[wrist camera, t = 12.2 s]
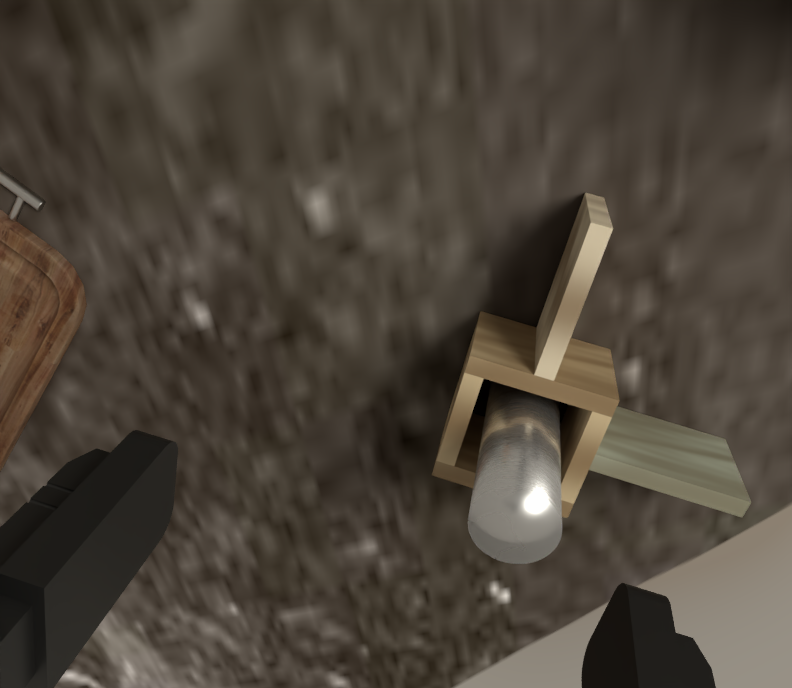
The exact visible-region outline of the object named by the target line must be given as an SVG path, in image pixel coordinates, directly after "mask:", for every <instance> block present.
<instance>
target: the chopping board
mask: <svg viewBox="0 0 792 688" xmlns="http://www.w3.org/2000/svg"><path fill="white" fill-rule="evenodd" d="M0 184H1V185H3V186H4V187H6V188H7V189H8V190H10V191H11V192H12V193H14V194H15V195H16V196H17V198H16V200H15V203H14V205H13V207H12V209H11V212H10V214H9V216H8V215H7V214H6V213H4V212H3V211H2V210H0V472H1V470H2V468H3V466H4V464H5V462H6V461H7V459H8V457H9V455H10V453H11V451H12V449H13V448H14V446H15V444H16V442H17V440H18V438H19V437H20V435H21V433H22V431H23V429H24V427H25V425H26V424H27V422H28V420H29V418H30V416H31V414H32V413H33V411H34V409H35V407H36V405H37V403H38V402H39V400H40V398H41V396H42V394H43V392H44V390H45V389H46V387H47V385H48V383H49V381H50V379H51V378H52V376H53V374H54V372H55V370H56V368H57V366H58V365H59V363H60V361H61V359H62V357H63V355H64V354H65V352H66V350H67V348H68V346H69V344H70V343H71V341H72V339H73V337H74V335H75V333H76V331H77V330H78V328H79V326H80V324H81V322H82V320H83V316H84V312H85V308H86V298H85V292H84V286H83V284H82V282H81V280H80V278H79V276H78V274H77V273H76V271H75V269H74V267H73V266H72V265H71V264H70V263H69V262H68V261H67V260H66V259H65V258H64V257H63V256H62V255H61V254H60V253H59V252H58V251H57V250H55V249H54V248H53V247H51V246H50V245H48V244H47V243H46V242H44V241H43V240H42V239H40V238H39V237H37V236H36V235H35V234H33V233H32V232H30V231H29V230H28V229H26V228H25V227H24V226H22V225H21V224H19V223H18V222H17V219H18V217H19V215H20V212H21V210H22V208H23V206H24V203H25V202H26V203H27V204H29V205H30V206H32V207H33V208H34V209H36V210H37V211H41V210H42V209H43V207H44V205H45V203H46V202H45V200H44V199H42V198H41V197H40V196H38V195H37V194H36V193H34V192H33V191H31V190H30V189H29V188H27V187H26V186H25V185H23V184H22V183H21V182H19V181H18V180H16V179H15V178H14V177H12V176H11V175H10V174H8V173H7V172H5V171H4V170H3V169H1V168H0Z"/></svg>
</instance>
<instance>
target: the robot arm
mask: <svg viewBox="0 0 792 688" xmlns="http://www.w3.org/2000/svg"><path fill="white" fill-rule="evenodd" d="M177 456H178V446H177V444H176V442H173V441H170V440H167V439H164V438H161V437H157V436H154V435H151V434H148V433H145V432H141V431H138V430H135V431H132V432H131V433H130V434H129V435H127V436H126V438H125V439H124V440H123V441H122V442H121V443H120V444H119V445H118V446H117V447H116V448H115V449H114V450H113V451H112V452H111V453H109V452H106V451H103V450H100V449H95V450H93V451H91V452H88V453H86V454H84V455H82V456H80V457H78V458H76V459H74V460H72V461H70V462H68V463H67V464H66V465H65V466H64V467H63V468H62V469H60V470H59V471H58V472H57V473H56V474H55V475H54V476H53V477H52V478H51V479H50V480H49V481H48V482H47V485H46V486H43V487H42V488H41V489H40V490H39V491H38V492H37V493H36V494H35V495H34V496H33V497H31V500H30V502H29V503H27V502H26V503H25V504H24V505H23V506H22V507H21V508H20V509H19V510H18V511H17V512H16V513H15V514H14V515H13V516H12V517H11V518H10V519H9V520H8V521H7V522H6V523H5V524H3V525H2V526H1V527H0V688H54V686H55V685H56V684H57V682H58V681H59V679H60V678H61V677H62V675H63V674H64V673H65V671H66V670H67V668H68V667H69V666H70V664H71V663H72V661H73V660H74V659H75V657H76V656H77V655H78V653H79V652H80V650H81V649H82V648H83V646H84V645H85V644H86V642H87V641H88V639H89V638H90V637H91V635H92V634H93V632H94V631H95V630H96V628H97V627H98V626H99V624H100V623H101V621H102V620H103V619H104V617H105V616H106V614H107V613H108V612H109V610H110V609H111V608H112V606H113V605H114V603H115V602H116V601H117V599H118V598H119V597H120V595H121V594H122V592H123V591H124V590H125V588H126V587H127V585H128V584H129V583H130V581H131V580H132V579H133V577H134V576H135V574H136V573H137V572H138V570H139V569H140V567H141V566H142V565H143V563H144V562H145V561H146V559H147V558H148V556H149V555H150V554H151V552H152V551H153V550H154V548H155V547H156V545H157V544H158V543H159V541H160V540H161V538H162V536H163V535H164V533H165V531H166V528H167V526H168V524H169V521H170V518H171V515H172V510H173V504H174V492H175V480H176V468H177ZM582 688H716V687H715V682H714V678H713V673H712V669H711V667H710V665H709V664H708V662H707V660H706V659H705V657H704V655H703V654H702V652H701V651H700V649H699V647H698V646H697V644H696V642H695V641H694V639H693V638H691V637H688V636H685V635H681V634H678V633H675V627H674V621H673V616H672V611H671V605H670V602H669V600H668V598H667V597H666V596H663V595H660V594H656V593H654V592H650V591H647V590H644V589H641V588H638V587H634V586H631V585H628V584H625V583H621V584H620V585H619V586H618V587H617V588H616V590H615V592H614V594H613V596H612V598H611V600H610V602H609V603H608V605H607V607H606V609H605V611H604V613H603V615H602V617H601V619H600V621H599V623H598V625H597V627H596V629H595V631H594V633H593V635H592V637H591V639H590V641H589V643H588V646H587V649H586V652H585V656H584V661H583V667H582Z"/></svg>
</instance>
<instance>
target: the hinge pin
mask: <svg viewBox="0 0 792 688" xmlns="http://www.w3.org/2000/svg"><path fill="white" fill-rule="evenodd" d="M468 529H469V533H470V535H471V538H472V539H473V541H474V543H475V544H476V545H477V546H478V547H479V548H480V549H481V550H482V551H483V552H484V553H486V554H487V555H489V556H490V557H492V558H494V559H497V560H499V561H502V562H506V563H512V564H526V563H532V562H535V561H538V560H541V559H543V558H545V557H546V556H548V555H549V554H550V553H551V552H553V551H554V549H555V548H556V547H557V545H558V544H559V542H560V539H561V535H562V502H561V454H560V407H559V401H556V400H553V399H550V398H546V397H543V396H540V395H536V394H533V393H530V392H526V391H523V390H520V389H517V388H513V387H510V386H507V385H503V384H500V383H497V382H494V381H491V382H490V389H489V395H488V401H487V407H486V413H485V419H484V425H483V431H482V437H481V443H480V450H479V456H478V462H477V468H476V474H475V480H474V486H473V492H472V498H471V505H470V511H469V517H468Z"/></svg>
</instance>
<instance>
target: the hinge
mask: <svg viewBox="0 0 792 688" xmlns="http://www.w3.org/2000/svg"><path fill="white" fill-rule="evenodd" d="M612 230H613V227H612V224H611V220H610V217H609V213H608V210H607V206H606V203H605V199H604V198H603V197H599V196H596V195H592V194H589V193H585V194H584V197H583V200H582V203H581V206H580V208H579V211H578V214H577V217H576V219H575V222H574V225H573V228H572V230H571V233H570V236H569V239H568V242H567V244H566V247H565V250H564V253H563V255H562V258H561V261H560V264H559V267H558V269H557V272H556V275H555V278H554V280H553V283H552V286H551V289H550V291H549V294H548V297H547V300H546V303H545V305H544V308H543V311H542V314H541V316H540V319H539V322H538V325H537V328H536V327H533V326H529V325H526V324H523V323H519V322H516V321H513V320H509V319H506V318H502V317H499V316H496V315H492V314H489V313H486V312H482V311H480V314H479V318H478V321H477V324H476V327H475V330H474V333H473V336H472V340H471V343H470V346H469V349H468V352H467V355H466V359H465V362H464V365H463V368H462V371H461V374H460V378H459V381H458V384H457V387H456V390H455V393H454V396H453V400H452V403H451V406H450V409H449V412H448V415H447V419H446V422H445V426H444V430H443V434H442V438H441V442H440V445H439V449H438V453H437V457H436V461H435V465H434V468H433V472H432V476H436V477H439V478H442V479H445V480H448V481H451V482H455V483H458V484H461V485H464V486H467V487H470V488H473V486H474V480H475V474H476V468H477V462H478V456H479V450H480V443H481V437H482V431H483V425H484V419H485V417H484V416H480V415H477V414H474V413H472V412H473V409H474V406H475V403H476V400H477V397H478V394H479V391H480V388H481V385H482V382H483V379H487V380H490V381H494V382H497V383H500V384H503V385H507V386H510V387H513V388H517V389H520V390H523V391H526V392H530V393H533V394H536V395H540V396H543V397H546V398H550V399H553V400H556V401H559V402H563V403H566V404H569V405H568V407H567V410H566V412H565V415H564V417H563V420H562V422H561V425H560V454H561V502H562V517H565V518H568V516H569V513H570V511H571V509H572V507H573V504H574V502H575V500H576V498H577V495H578V493H579V491H580V489H581V486H582V484H583V482H584V480H585V477H586V475H587V473H588V471H589V470H591V471H594V472H597V473H601V474H604V475H607V476H610V477H613V478H617V479H620V480H623V481H626V482H630V483H633V484H636V485H639V486H643V487H646V488H649V489H652V490H655V491H659V492H662V493H665V494H668V495H672V496H675V497H678V498H681V499H684V500H688V501H691V502H694V503H697V504H701V505H704V506H707V507H710V508H713V509H717V510H720V511H723V512H726V513H730V514H733V515H736V516H739V517H743V516H744V514H745V512H746V510H747V509H748V507H749V505H750V504H751V501H750V498H749V496H748V493H747V491H746V488H745V486H744V484H743V481H742V479H741V476H740V474H739V471H738V469H737V467H736V464H735V462H734V459H733V457H732V454H731V452H730V450H729V447H728V445H727V442H726V440H725V439H723V438H720V437H717V436H713V435H710V434H707V433H704V432H700V431H697V430H694V429H690V428H687V427H684V426H680V425H677V424H674V423H670V422H667V421H664V420H661V419H657V418H654V417H651V416H647V415H644V414H641V413H637V412H634V411H631V410H627V409H624V408H621V407H618V406H617V405H618V403H619V395H618V390H617V384H616V379H615V373H614V367H613V362H612V356H611V350H610V349H607V348H604V347H600V346H597V345H593V344H590V343H587V342H583V341H580V340H577V339H573V338H571V336H572V333H573V331H574V328H575V325H576V323H577V320H578V318H579V315H580V312H581V310H582V307H583V305H584V302H585V300H586V297H587V294H588V292H589V289H590V287H591V284H592V282H593V279H594V276H595V274H596V271H597V269H598V266H599V264H600V261H601V258H602V256H603V253H604V251H605V248H606V245H607V243H608V240H609V238H610V235H611V233H612Z"/></svg>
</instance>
